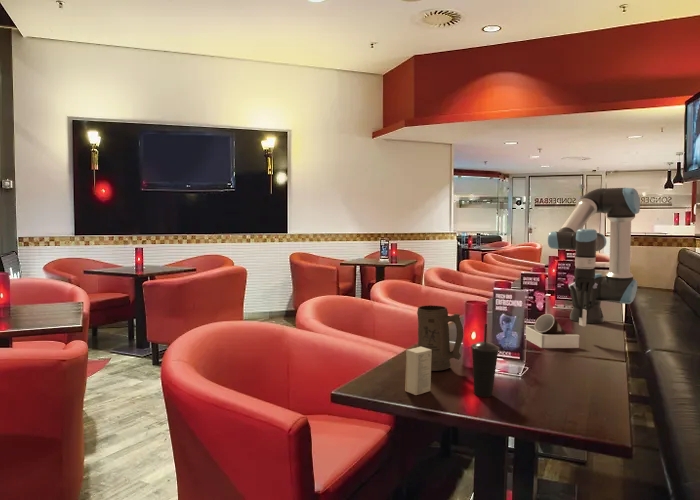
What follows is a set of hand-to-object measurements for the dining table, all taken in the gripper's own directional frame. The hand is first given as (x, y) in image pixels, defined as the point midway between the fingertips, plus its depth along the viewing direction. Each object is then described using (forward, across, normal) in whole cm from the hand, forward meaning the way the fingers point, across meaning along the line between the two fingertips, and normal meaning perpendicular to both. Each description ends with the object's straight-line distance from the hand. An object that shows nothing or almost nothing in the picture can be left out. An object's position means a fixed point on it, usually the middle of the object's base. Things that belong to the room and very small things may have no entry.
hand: (582, 325), depth 210 cm
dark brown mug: (+5, -11, -2) cm, 13 cm away
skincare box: (+4, -81, -57) cm, 99 cm away
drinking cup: (+4, -63, -60) cm, 87 cm away
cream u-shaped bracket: (+7, -14, -1) cm, 16 cm away
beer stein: (+5, -69, -35) cm, 77 cm away
